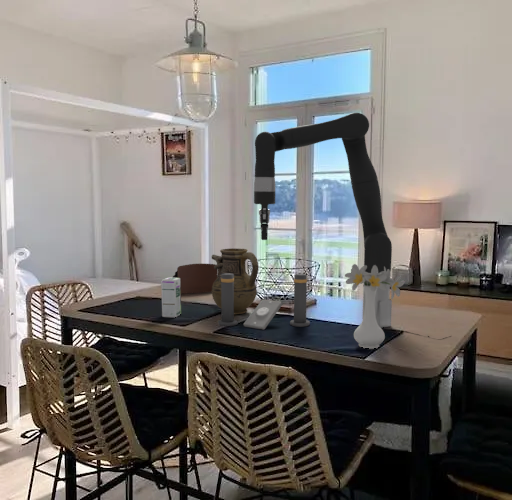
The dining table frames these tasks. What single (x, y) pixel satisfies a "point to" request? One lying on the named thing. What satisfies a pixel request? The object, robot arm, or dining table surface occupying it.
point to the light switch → (263, 314)
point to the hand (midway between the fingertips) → (264, 239)
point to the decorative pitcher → (236, 277)
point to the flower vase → (371, 302)
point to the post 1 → (227, 300)
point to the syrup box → (171, 297)
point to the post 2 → (300, 301)
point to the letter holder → (196, 277)
